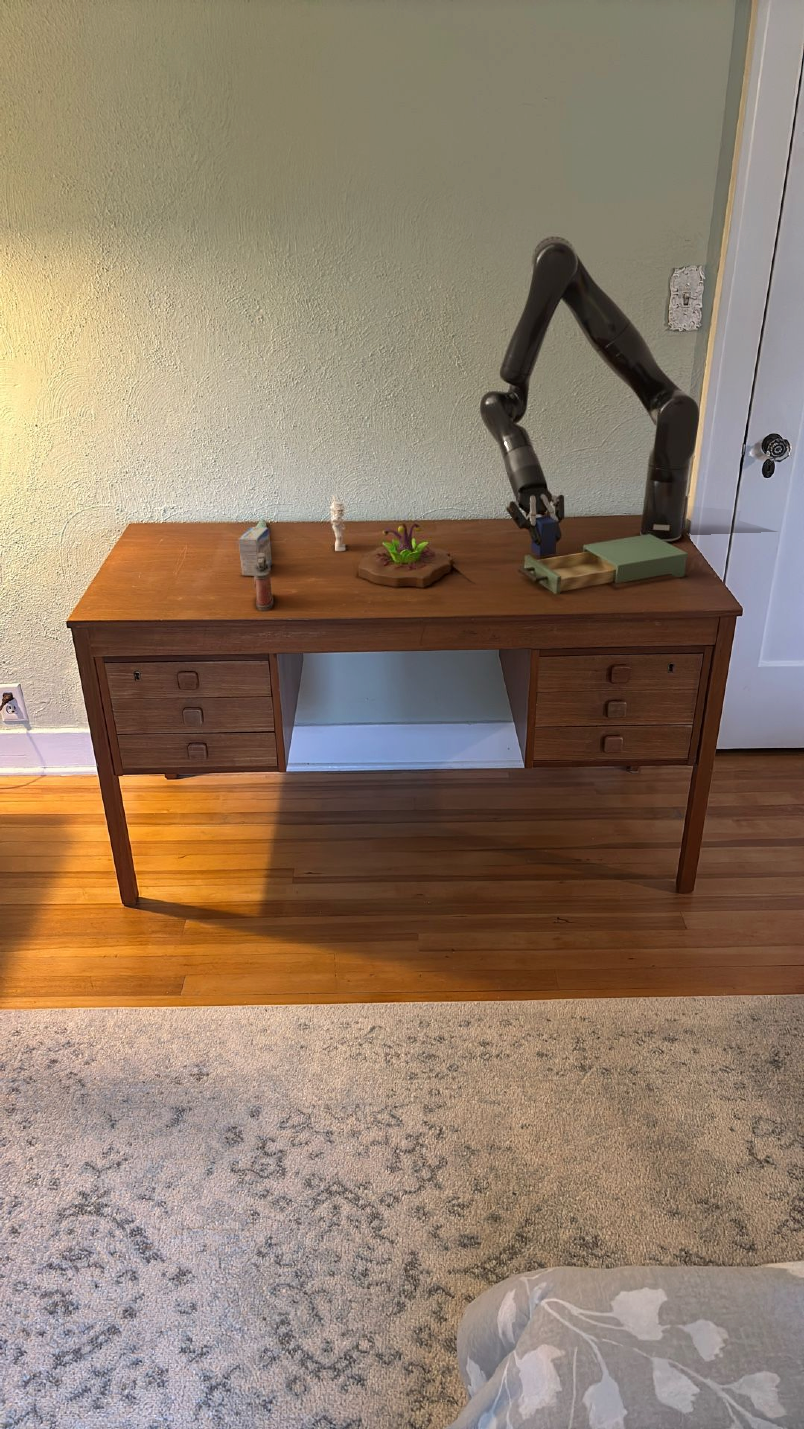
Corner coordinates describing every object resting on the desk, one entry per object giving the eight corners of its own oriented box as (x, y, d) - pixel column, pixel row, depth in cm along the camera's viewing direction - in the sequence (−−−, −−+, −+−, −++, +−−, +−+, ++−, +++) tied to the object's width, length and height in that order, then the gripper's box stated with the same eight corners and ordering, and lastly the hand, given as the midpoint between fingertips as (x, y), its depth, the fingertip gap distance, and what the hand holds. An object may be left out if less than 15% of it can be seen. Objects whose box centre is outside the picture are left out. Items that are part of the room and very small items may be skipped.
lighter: (257, 595, 204) (253, 549, 199) (273, 594, 204) (269, 548, 199) (255, 610, 197) (251, 563, 192) (272, 609, 197) (268, 562, 192)
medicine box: (261, 577, 213) (257, 539, 208) (241, 576, 213) (237, 537, 209) (272, 564, 219) (269, 527, 215) (253, 563, 220) (250, 526, 216)
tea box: (539, 556, 213) (541, 523, 210) (530, 550, 216) (532, 518, 213) (555, 553, 215) (558, 521, 211) (546, 548, 218) (548, 515, 214)
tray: (541, 599, 198) (542, 579, 196) (510, 577, 209) (510, 557, 207) (628, 584, 205) (630, 564, 202) (593, 562, 216) (595, 543, 213)
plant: (345, 581, 210) (342, 530, 204) (378, 551, 226) (377, 503, 220) (433, 592, 204) (433, 540, 198) (461, 560, 220) (462, 512, 214)
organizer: (615, 588, 204) (618, 565, 201) (581, 567, 215) (583, 544, 212) (684, 576, 209) (687, 553, 207) (647, 556, 220) (650, 533, 218)
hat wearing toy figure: (332, 542, 232) (329, 492, 226) (348, 541, 232) (346, 491, 226) (330, 555, 224) (327, 504, 218) (347, 554, 224) (345, 503, 218)
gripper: (502, 467, 210) (526, 538, 207) (559, 460, 215) (584, 529, 211) (490, 485, 217) (513, 554, 214) (546, 477, 222) (569, 545, 218)
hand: (548, 541), depth 212 cm, fingers closed on tea box, 4 cm apart
